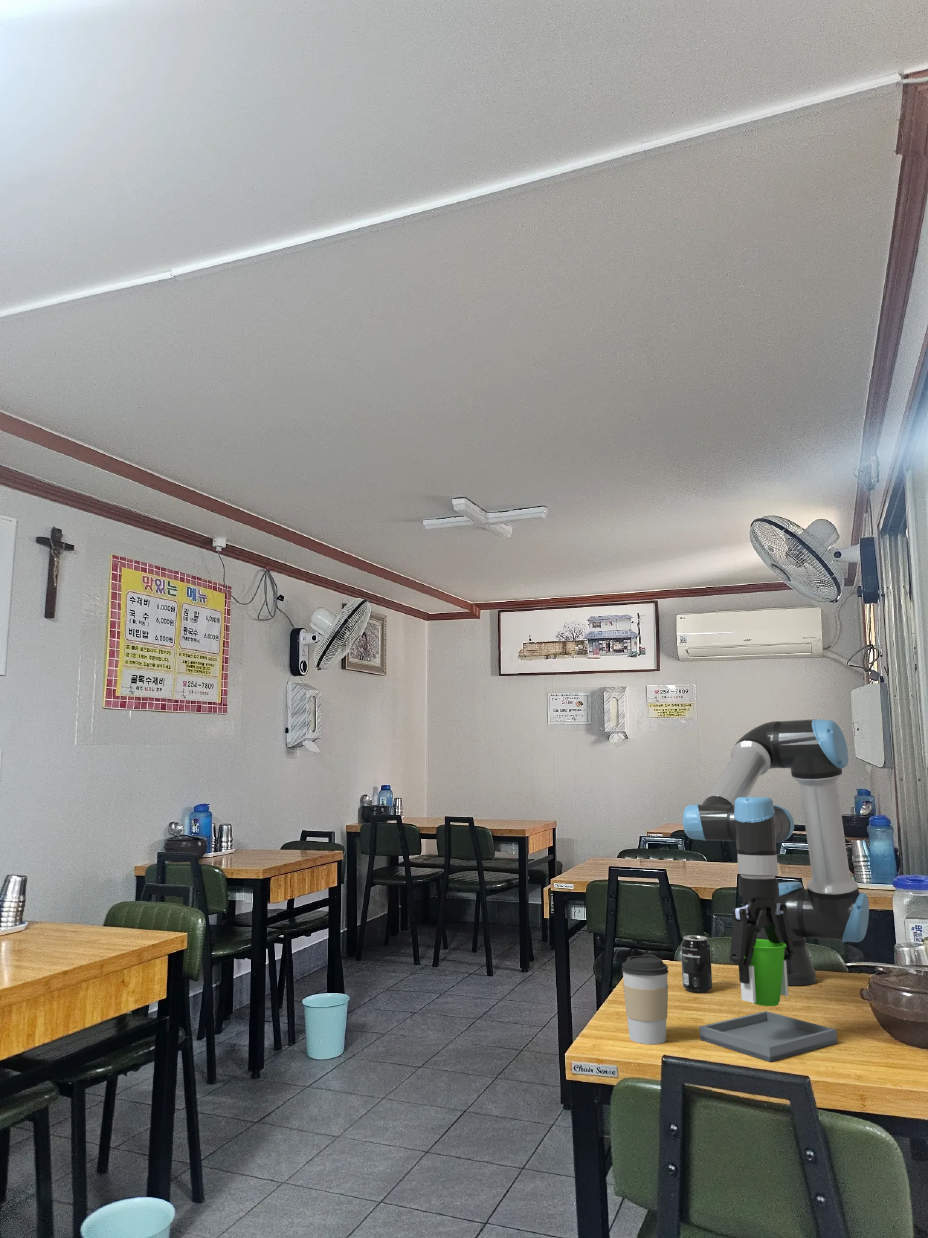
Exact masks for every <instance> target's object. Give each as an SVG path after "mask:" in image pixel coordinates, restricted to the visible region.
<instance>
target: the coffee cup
mask: <svg viewBox="0 0 928 1238" xmlns="http://www.w3.org/2000/svg"><path fill="white" fill-rule="evenodd" d="M668 968H669V966H668V965H667V964H666V963H664V961H663V960H662V958H660V957H658V956H657V955H655V954H653V953H644V954H641V955H632V956H628V957H627V958H626V961H624V962H622V964H621V971H622V976H623V977H622V978H623V983H622V985H623V993H624V1004H625V1006H624V1007H625V1013H626V1014H625V1015H626V1017H627V1027H628V1036H629V1037H628V1038H629V1039H630V1041H631V1042H634V1043H637V1044H644V1045H659V1044H660V1045H661V1044H663V1043H665V1042H666V1041H667V1018H668V1001H669V984H668V973H669V971H670V970H668Z"/></svg>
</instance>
